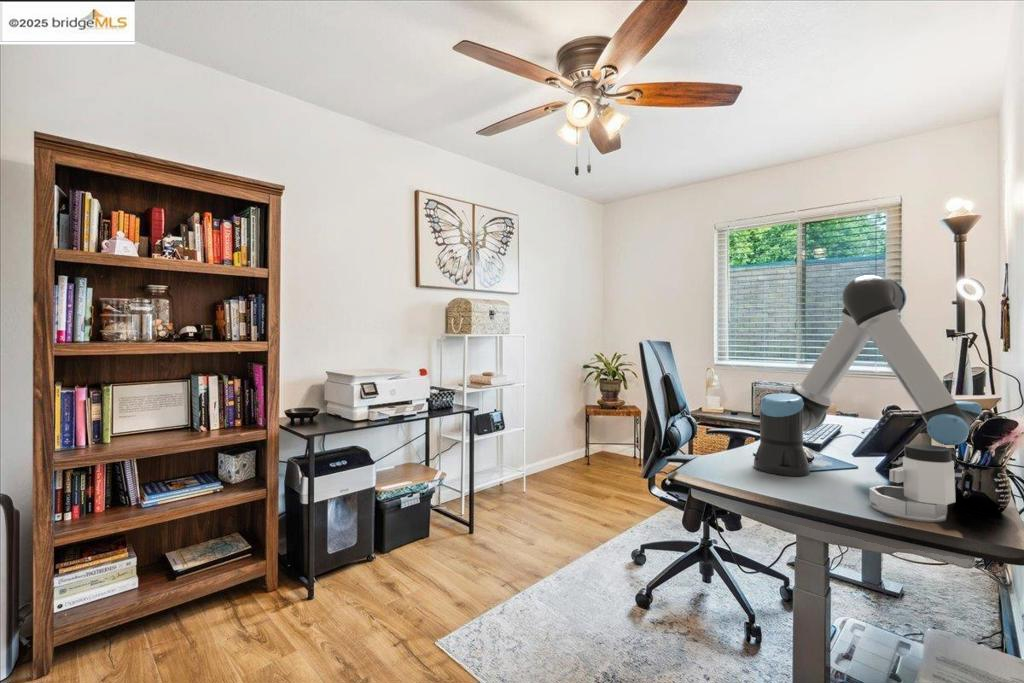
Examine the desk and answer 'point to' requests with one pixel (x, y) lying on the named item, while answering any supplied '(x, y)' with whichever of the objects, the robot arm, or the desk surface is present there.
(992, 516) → the desk surface
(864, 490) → the desk surface
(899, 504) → the grey octagonal tray
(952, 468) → the jar
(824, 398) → the robot arm
